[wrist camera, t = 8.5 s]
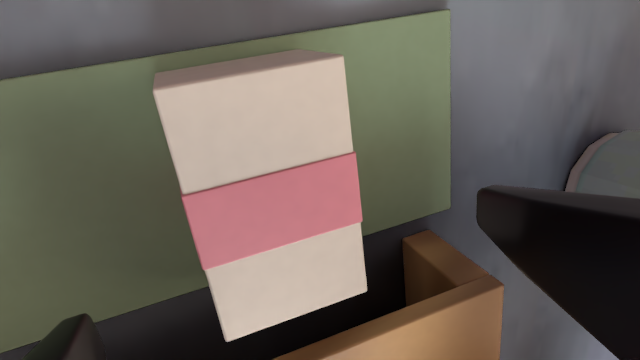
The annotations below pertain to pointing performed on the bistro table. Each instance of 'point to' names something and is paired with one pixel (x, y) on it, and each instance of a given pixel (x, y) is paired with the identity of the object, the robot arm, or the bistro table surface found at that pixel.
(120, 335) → the bistro table surface
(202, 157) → the block
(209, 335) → the bistro table surface
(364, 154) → the mat
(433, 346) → the shelf
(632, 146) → the disposable coffee cup
